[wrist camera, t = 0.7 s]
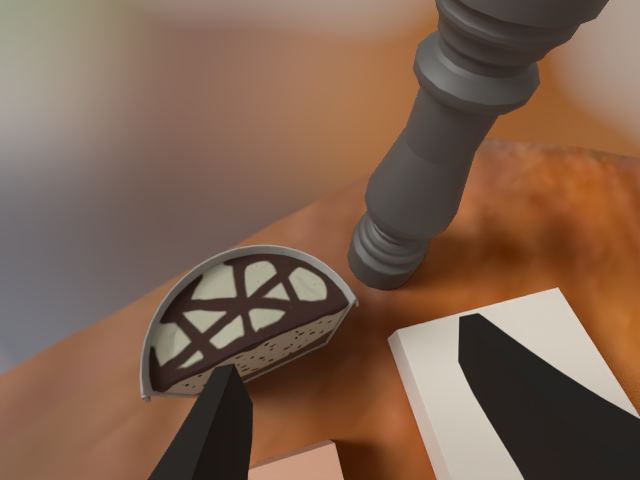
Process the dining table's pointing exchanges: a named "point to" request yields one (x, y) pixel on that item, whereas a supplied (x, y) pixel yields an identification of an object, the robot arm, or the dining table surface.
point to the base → (456, 396)
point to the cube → (300, 464)
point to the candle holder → (454, 122)
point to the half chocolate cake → (241, 318)
